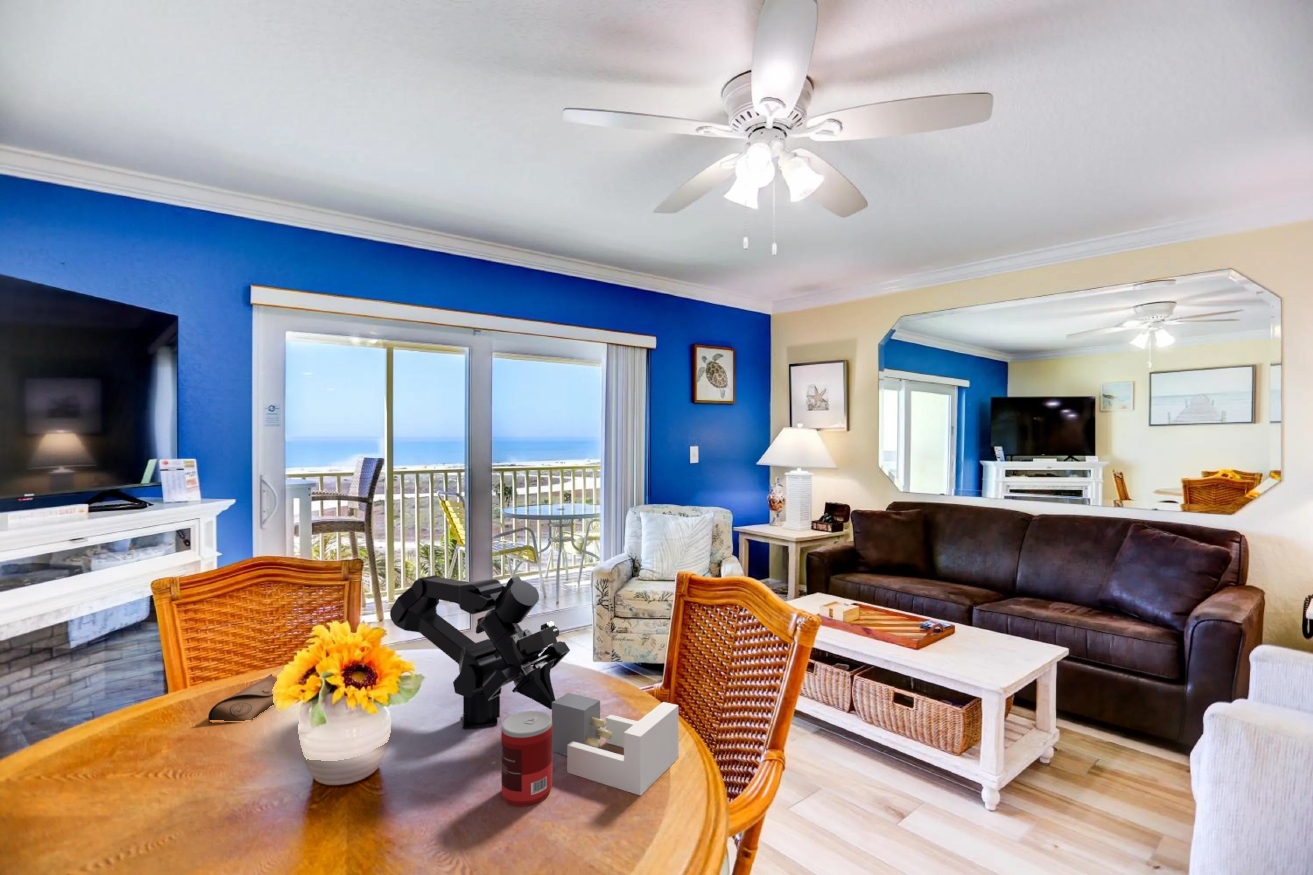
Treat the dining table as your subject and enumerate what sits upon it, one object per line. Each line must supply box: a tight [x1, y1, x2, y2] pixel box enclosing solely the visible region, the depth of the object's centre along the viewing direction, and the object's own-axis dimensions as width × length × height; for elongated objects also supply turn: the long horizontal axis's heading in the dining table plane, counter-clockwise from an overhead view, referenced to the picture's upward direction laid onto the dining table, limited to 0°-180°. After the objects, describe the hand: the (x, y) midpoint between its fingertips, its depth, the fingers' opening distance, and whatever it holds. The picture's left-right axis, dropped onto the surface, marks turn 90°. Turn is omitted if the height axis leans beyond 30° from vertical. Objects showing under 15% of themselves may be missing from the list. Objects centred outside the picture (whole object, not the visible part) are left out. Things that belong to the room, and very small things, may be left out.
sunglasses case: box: [207, 673, 278, 721], centre depth 128 cm, size 18×7×7 cm
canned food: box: [500, 710, 553, 807], centre depth 95 cm, size 8×8×11 cm
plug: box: [551, 692, 612, 756], centre depth 107 cm, size 10×5×8 cm, turn 61°
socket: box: [566, 701, 680, 797], centre depth 103 cm, size 14×13×9 cm
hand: (554, 707), depth 110 cm, fingers closed
